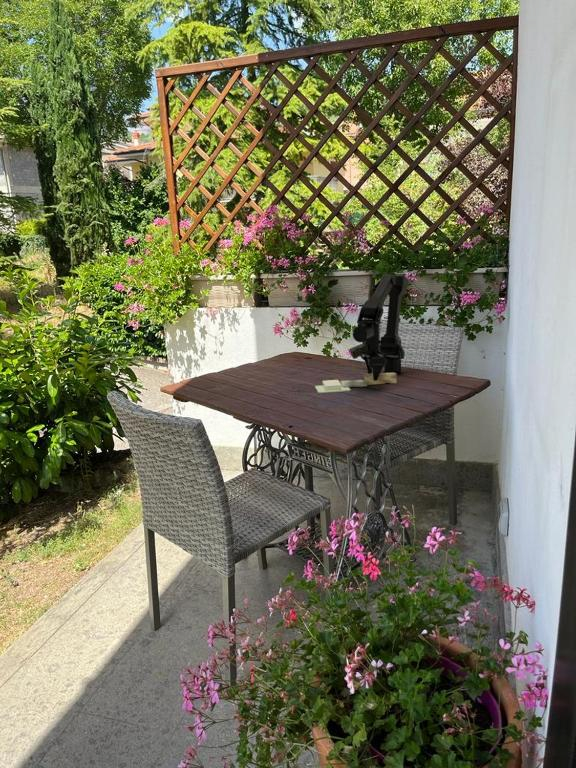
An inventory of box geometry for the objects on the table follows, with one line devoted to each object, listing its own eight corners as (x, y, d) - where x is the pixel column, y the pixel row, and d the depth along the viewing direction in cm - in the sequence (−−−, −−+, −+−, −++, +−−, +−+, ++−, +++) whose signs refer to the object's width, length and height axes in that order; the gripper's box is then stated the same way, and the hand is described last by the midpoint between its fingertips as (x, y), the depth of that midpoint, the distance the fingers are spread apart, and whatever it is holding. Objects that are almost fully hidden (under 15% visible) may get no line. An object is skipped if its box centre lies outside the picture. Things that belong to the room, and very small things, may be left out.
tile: (337, 379, 217) (341, 385, 210) (337, 383, 218) (341, 389, 210) (322, 380, 217) (325, 386, 209) (322, 384, 217) (325, 390, 210)
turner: (393, 379, 221) (393, 371, 220) (398, 384, 214) (398, 375, 213) (339, 382, 219) (339, 374, 218) (343, 387, 212) (343, 378, 211)
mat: (345, 384, 217) (345, 383, 217) (350, 390, 209) (350, 389, 209) (315, 386, 216) (315, 385, 216) (318, 393, 208) (318, 392, 208)
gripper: (345, 334, 220) (346, 373, 224) (356, 343, 202) (356, 385, 206) (374, 332, 221) (374, 371, 225) (386, 341, 203) (386, 383, 207)
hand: (372, 377), depth 216 cm, fingers open, 9 cm apart
